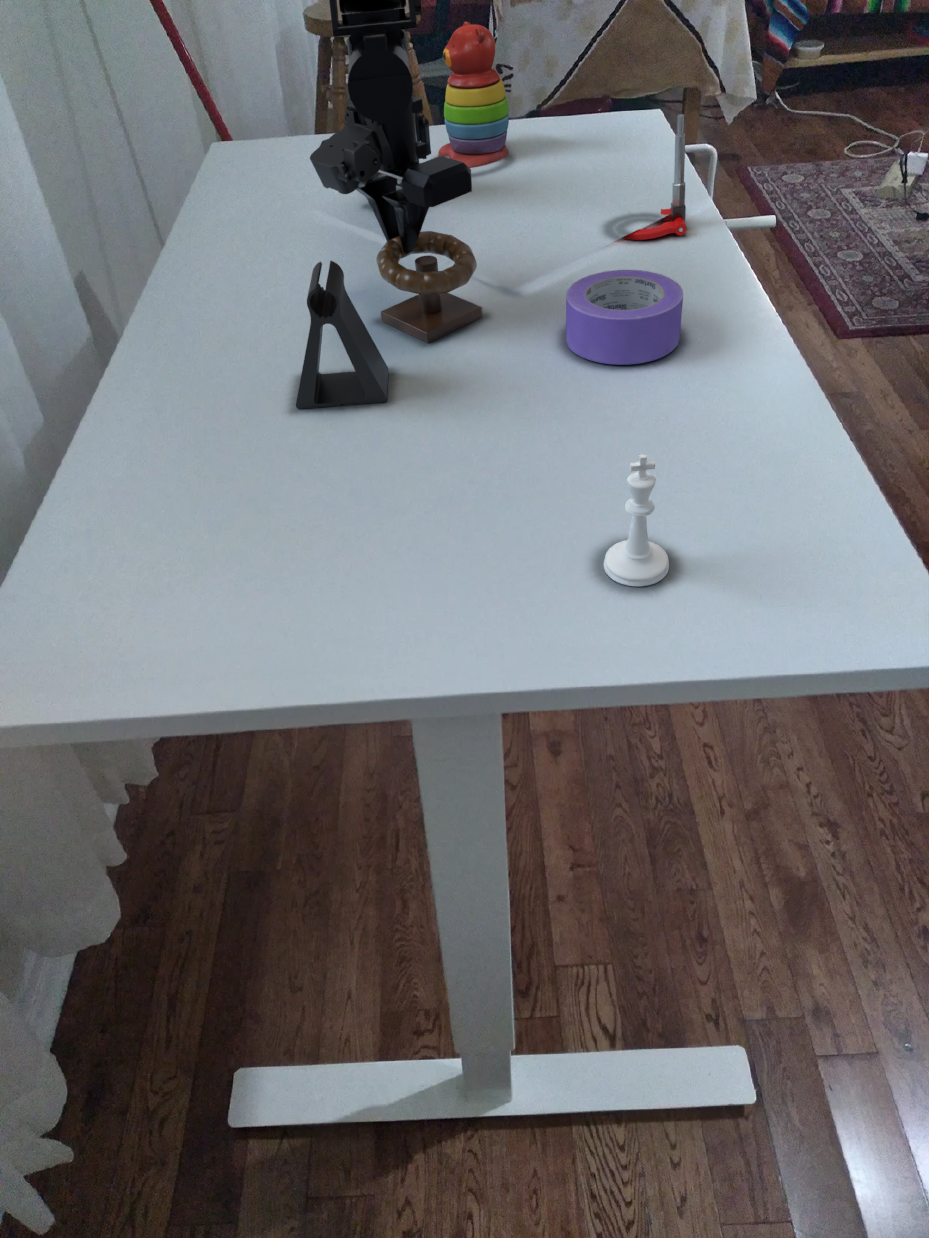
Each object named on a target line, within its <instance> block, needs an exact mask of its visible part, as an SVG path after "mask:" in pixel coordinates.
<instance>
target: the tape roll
mask: <svg viewBox="0 0 929 1238" xmlns="http://www.w3.org/2000/svg"><path fill="white" fill-rule="evenodd" d="M683 303H684V290H683V288H682V286H681V285H680V284H679V283H678V282H677V281H676V280H674V279H673V278H671V277H669V276H666V275H663V274H661V273H657V272H653V271H648V270H640V269H614V270H606V271H601V272H596V273H593V274H590V275H586V276H584V277H582V278H580V279H578V280H576V281H575V282H573V283H571V285H570V286H569V287H568V288H567V291H566V292H565V343H566V346H567V348H568V349H569V350H570V351H571V352H572V353H574V354H575V355H577V356H579V357H580V358H583V359H585V360H587V361H591V362H595V363H600V364H605V365H615V366H616V365H618V366H619V365H620V366H621V365H622V366H623V365H626V366H627V365H628V366H629V365H638V364H644V363H648V362H652V361H656V360H659V359H661V358H663V357H666V356H667V355H669V354H671V352H673V351H674V350H675V349H676V348H677V346H678V345H679V343H680V340H681V327H682V313H683Z"/></svg>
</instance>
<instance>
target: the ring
mask: <svg viewBox="0 0 929 1238" xmlns="http://www.w3.org/2000/svg"><path fill="white" fill-rule="evenodd" d="M417 254H434V255H439V256H444V257H446V258H447V259H449V260H451V261H452V262H453V265H452V266H449V267H447V268H445V269H442V270H438V271H434V272H420V271H416V269H410V268H407V267H405V266H404V265H402V264H400V263H399V262H400V260H402V259H403V258H406V257H409V256H410V255H417ZM376 265H377V268H378V272H379V275H380V277H381V278H382V280H384V281H385V282H387V283H388V284H390V285H391V286H393V287H394V288H396V289H397V290H399V291H403V292H407V293H412V294H416V295H418V294H421V295H428V294H440V293H451V292H452V291H454V290H456V289H458V288H461V287H463V286H465V285H467V284H468V283H469V282H470V280H471V278H472V277H473V275H474V273H475V271H476V270H477V265H478V263H477V260H476V257H475V255H474V252H473V250H472V248H471V246H470V245H469V244H467V243H465V242H464V241H462V240H461V239H459V238H458V237H456V236H454V235H452V234H447V233H443V232H437V231H432V230H425V231H424V230H423V231H420V234H419V237H418V240H417V242H416V245H415V248H414V250H413V252H410V253H408V254H406V253H404V251H403V247H402V244H401V240H400V236H398V237H395V238H393V239H391V240H389V241H387V240H386V242H385V243H384V245H383V246H382V247H381V249H380V250H379V251H378V253H377V255H376Z"/></svg>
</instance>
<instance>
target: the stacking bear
mask: <svg viewBox="0 0 929 1238" xmlns="http://www.w3.org/2000/svg"><path fill="white" fill-rule="evenodd" d="M495 57H496V41H495V38H494V36H493V34H492V32H491V31H490V30H489V29H488V28H487V27H485V26H484V25H481V24H471V22H469V21H463V24H462V26H459V27H458V28H457V29H455V30H454V31H453V32H452V35H451V36H450V38H449V39H448V41H447V44H446V45H445V47H444V49H443V51H442V58H443V60H444V63H445V65H446V66H447V67H448V68H449V70H450V71H451V73H450V75H449V77H448V78H447V85H446V89H445V95H444V96H445V97H444V98H445V99H444V100H445V101H444V105H443V117H444V125H445V130H446V133H447V136H448V141H449V142H448V143H446V144H444V145H442V146H441V147H439V149H438V155H437V157H439V156H444V157H447V158H450V159H454V160H457V161H460V162H464V163H465V164H466V165H467V166H468V167H469V168H470V169H473V168H478V167H483V166H487V165H490V164H493V163H497V162H498V161H501V160H502V159H504V158H506V157H507V156H508V155H509V149H508V147H507V145H506V143H507V136H508V129H509V124H510V123H509V122H510V114H509V112H510V108H509V102H508V97H507V96H506V95H507V93H506V88H505V84H504V82H503V79H502V78H500V77H501V76H500V74H499V73H498V72H497V70H496V69H494V68H493V65H494V62H495Z"/></svg>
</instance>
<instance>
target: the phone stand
mask: <svg viewBox="0 0 929 1238" xmlns="http://www.w3.org/2000/svg"><path fill="white" fill-rule="evenodd" d="M322 267H323V263H322V261H319V262H317V263H316V264H315V265H314V267H313V269H312V273H311V278H310V283H309V287H308V291H307V297H306V306H307V309H308V311H309V316H310V317H309V318H310V326H309V331H308V337H307V340H306V341H307V342H306V345H305V346H306V347H305V352H304V359H303V363H302V368H301V369H302V370H301V374H300V380H299V384H298V385H299V386H298V391H297V396H296V402H295V407H296V408H297V409H298V410H305V409H317V408H328V407H329V408H331V407H340V406H341V405H343V406H355V405H366V404H367V405H368V404H379V403H386V402H387V401H388V387H389V386H388V385H389V384H388V382H389V367H388V365H387V363H386V361H385V359H384V358H383V356H382V354H381V352H380V350H379V349H378V346H377V345H376V343H375V342H374V339H373V338H372V336H371V334H370V333H369V331H368V328H367V327H366V325H365V323H364V321H363V320H362V318H361V316H360V314H359V313H358V311H357V309H356V307H355V305H354V303H353V301H352V300H351V298H350V296H349V294H348V293H347V290H346V286H345V274H344V271H343V268H342V267H341V266H340V264H338V263H337V262H336V261H333V260H330V261H329V267H328V272H327V279H326V284H325V289H324V286H321V285H322V284H320V279H321V273H322ZM325 325H332V326H333V327H334V328H335V330H336V332H337V335H338V337H339V338H340V341H341V343H342V345H343V347H344V350H345V352H346V353H347V357H348V358H349V360H350V363H351V365H352V367H353V369H354V371H344V372H343V371H342V372H332V373H320V365H321V353H322V342H323V332H324V331H323V330H324V326H325Z"/></svg>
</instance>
